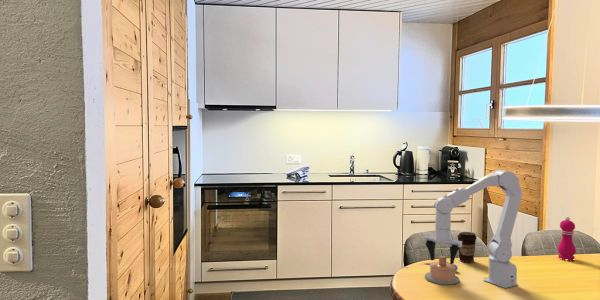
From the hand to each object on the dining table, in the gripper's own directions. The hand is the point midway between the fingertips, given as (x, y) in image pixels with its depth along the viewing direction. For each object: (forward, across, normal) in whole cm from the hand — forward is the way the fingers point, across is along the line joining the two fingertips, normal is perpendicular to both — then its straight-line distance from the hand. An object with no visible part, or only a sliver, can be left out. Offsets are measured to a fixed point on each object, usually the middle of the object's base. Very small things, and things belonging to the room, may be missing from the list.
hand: (442, 261), depth 159 cm
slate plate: (+7, 0, 0) cm, 7 cm away
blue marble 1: (+7, +3, -14) cm, 16 cm away
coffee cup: (+7, -1, -31) cm, 32 cm away
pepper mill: (+7, -37, -64) cm, 74 cm away
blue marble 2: (+7, -1, -13) cm, 15 cm away
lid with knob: (+6, 0, 0) cm, 6 cm away
